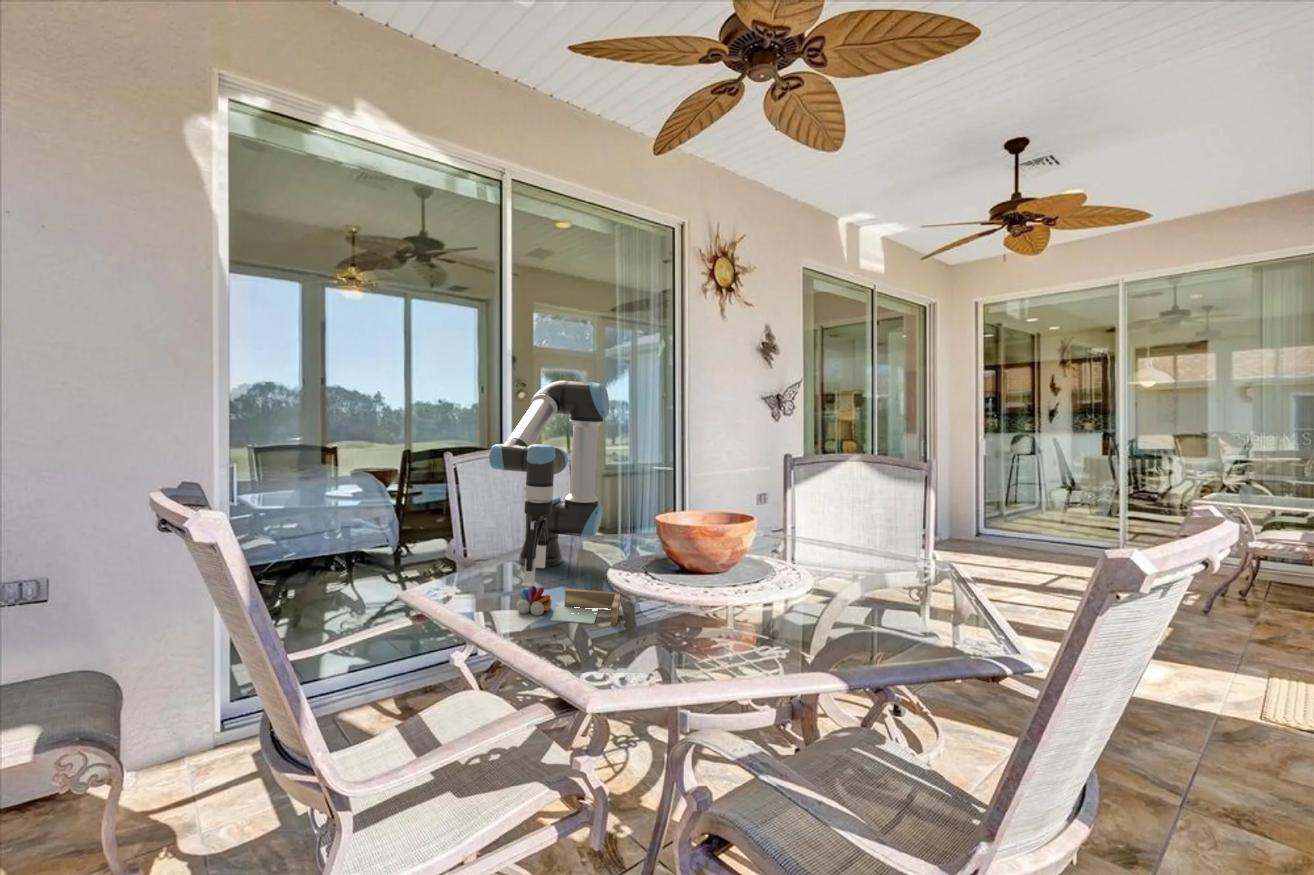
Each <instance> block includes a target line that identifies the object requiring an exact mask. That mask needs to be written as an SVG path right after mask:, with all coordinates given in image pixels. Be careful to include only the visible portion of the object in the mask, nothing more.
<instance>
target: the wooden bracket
mask: <svg viewBox="0 0 1314 875" xmlns="http://www.w3.org/2000/svg"><path fill="white" fill-rule="evenodd" d="M621 596H622V595H621V592H616V591H615V592H614V591H601V590H590V589H589V590H588V589H574V588H565V590H564V606H563V607H580V608H608V609H611V611H610V626H617V623H618V618H619V615H618V613H619V614H620V611H619V607H620V608H621Z"/></svg>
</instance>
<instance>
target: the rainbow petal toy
mask: <svg viewBox="0 0 1314 875" xmlns="http://www.w3.org/2000/svg"><path fill="white" fill-rule="evenodd" d="M544 592H545V588H544V587H539V588H538V589H537V586H535V585H531V586H529V588H528V589H525V588H524V589H522V590H521V591H520V596H521V597H520V598H519V599H517V602H516V603H517V604H516V610H517V611H518V612H519V614H523V615H525V613H526V614H528V613H529V612H530V613H531V614H532V615H533V616H536V617H537V616H542V614H543V613H544V611H545V612H547V611H549V610H551V607H552V598H551V595H550V594H544V595H543V593H544Z"/></svg>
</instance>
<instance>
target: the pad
mask: <svg viewBox="0 0 1314 875" xmlns="http://www.w3.org/2000/svg"><path fill="white" fill-rule="evenodd" d="M597 612H599V610H598V611H592V609H585V608H574V607H564V606H560V605H559V606H556V609H555V610H554V612H553V613H552V616H551V618H550V621H551V622H564V623H577V624H589V625H590V624H591V625H594V624H595V622H596V619H597V616H598V613H597ZM571 613H574V614H571ZM578 613H579V614H578ZM594 613H597V614H594Z"/></svg>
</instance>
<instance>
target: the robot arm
mask: <svg viewBox="0 0 1314 875" xmlns="http://www.w3.org/2000/svg"><path fill="white" fill-rule="evenodd" d="M609 398H610V397H609V393H608V390H607V388H606V386H605V385H604V384H603V383H599V382H593V381H590V382H589V381H587V382H586V381H573V380H570V381H569V380H557V381H553V382H551V383H549V384H547V385H546V386H544V387H543V388H540V389H539V390H538V391H537V392H536V393H534V395H533V397H532V398H531V400H530V403H529V408H528V410H527V411H526V412H525V414H524V415H523V417H522V418H521V420H520V421H519V423H518V424H517V425H516V427H515V428H514V429H513V431H512V433H511V434H510V436H509V437H508V439H507V440H506V441H505V443H504V444H503V443H499V444H497V443H495V444H493V445H492V446H491V448H490V450H489V454H488V460H489V465H490V467H491V468H492V469H494V470H501V471H506V472H507V471H509V472H520V473H523V472H524V473H526V480H525V486H524V487H523V491H525V499H526V500H525V501H524V514H525V529H524V530H525V534H524V537H525V538H524V542H523V543H522V547H521V549H520V552H519V556H518V558H519V559H518V562H519V563H520V564H521V565H524V572H523V573H524V574H523V583H528V584H529V583H530V584H531V583H532V584H533V583H535V581H536V568H537V569H545V568H549V567H555V566H558V565H560V564H561V563H562V562H563V552H562V549H561V546H560V543H559V535H560V536H562V535H563V536H572V537H578V538H579V537H580V538H593V537H594V536H596V535H597V533H598V531H599V529H600V526H601V522H602V519H603V511H604V510H603V505H601V504H599V497H597V496H596V495H595V487H596V470H597V452H598V451H597V449H598V438H599V437H598V434H599V427H600V426H601V425H602V424H603V422H604V418H607V417H608V416H609V412H610V411H609V410H610V402H609V401H610V400H609ZM557 415H569V422H570V423H571V424H572V427H573V428H572V445H571V447H572V448H571V463H570V464H571V466H570V478H569V479H570V481H569V482H570V483H569V493H568V494H567V495H566V496H565V497H564V501H562V500H561V497H560V496H558V495H554V480H555V479H554V477H555V475H558V474H560V473H561V472H562V471H563V470H565V468H567V465H568V464H569V463H568V462H569V458H568V455H567V453H566V451H565V450H563V449H562V448H560V447H555V446H554V445H552V444H547V443H546V444H545V443H536V442H537V440H538V438H539V437H540V435H541V434H542V432H543V431H544V428H545V427H546V426H547V424H548V422H549V421H550V420H551V419H553V418H554V417H556V416H557Z"/></svg>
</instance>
